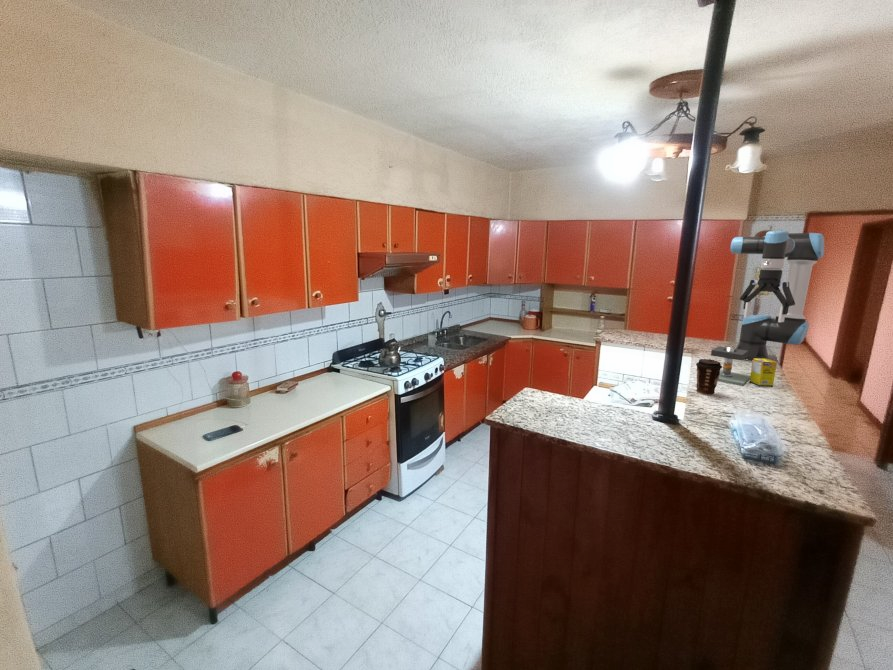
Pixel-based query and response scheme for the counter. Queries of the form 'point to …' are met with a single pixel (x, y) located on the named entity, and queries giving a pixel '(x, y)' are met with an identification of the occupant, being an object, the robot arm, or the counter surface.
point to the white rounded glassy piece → (727, 364)
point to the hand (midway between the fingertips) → (763, 319)
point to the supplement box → (763, 372)
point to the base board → (734, 379)
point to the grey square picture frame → (729, 353)
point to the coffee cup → (707, 376)
